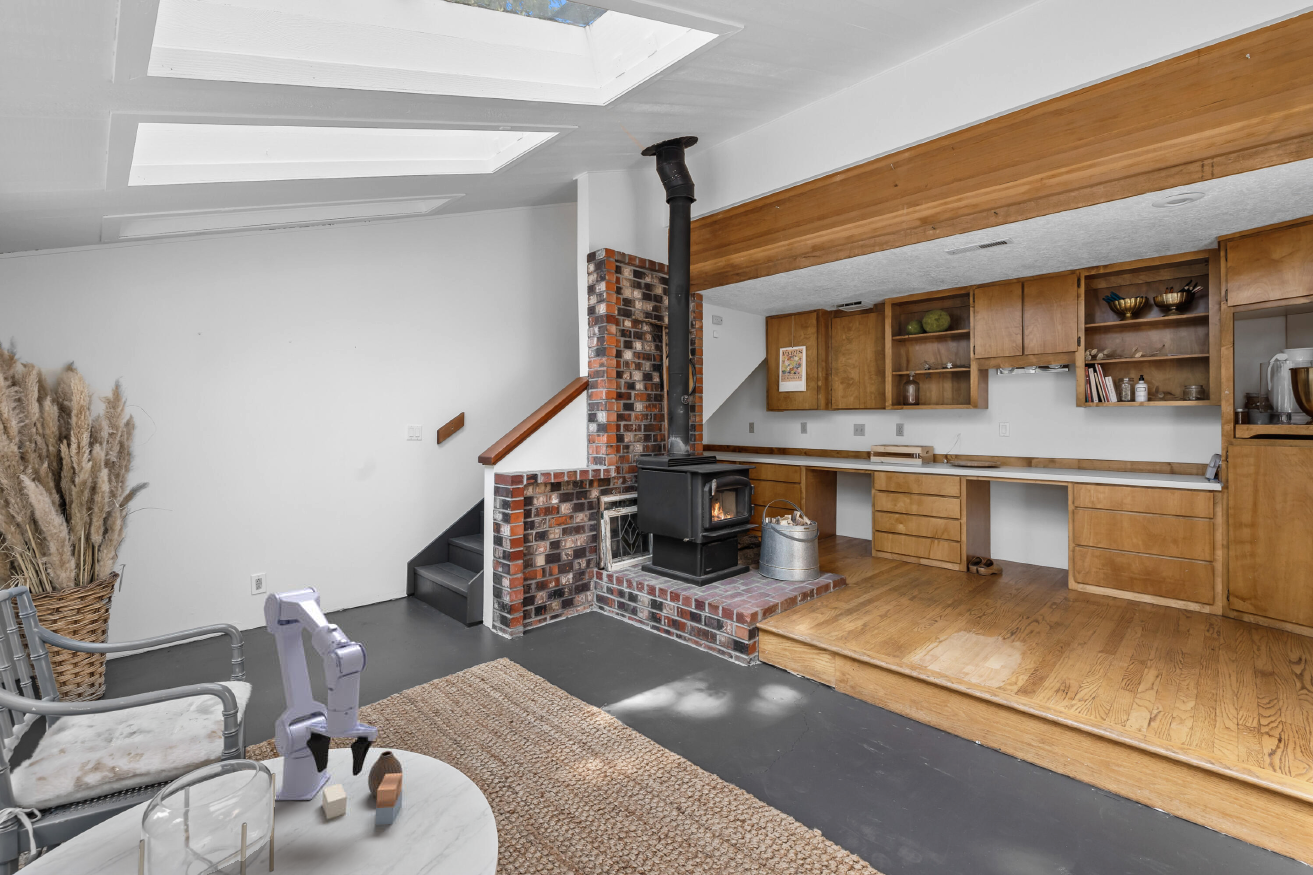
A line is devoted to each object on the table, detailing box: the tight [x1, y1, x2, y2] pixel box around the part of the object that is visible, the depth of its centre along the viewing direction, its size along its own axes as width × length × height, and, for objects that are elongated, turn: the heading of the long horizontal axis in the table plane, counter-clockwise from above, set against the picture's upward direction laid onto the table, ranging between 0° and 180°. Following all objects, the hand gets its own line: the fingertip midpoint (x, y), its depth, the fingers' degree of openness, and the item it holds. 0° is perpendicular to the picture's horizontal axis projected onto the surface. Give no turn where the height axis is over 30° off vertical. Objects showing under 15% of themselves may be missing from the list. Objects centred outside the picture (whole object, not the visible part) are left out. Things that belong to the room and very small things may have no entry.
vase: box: [367, 750, 403, 799], centre depth 130 cm, size 7×7×9 cm
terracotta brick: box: [375, 772, 403, 809], centre depth 123 cm, size 6×3×4 cm, turn 10°
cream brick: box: [321, 782, 348, 820], centre depth 124 cm, size 6×3×4 cm, turn 39°
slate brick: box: [374, 790, 403, 826], centre depth 123 cm, size 6×3×4 cm, turn 7°
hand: (339, 771), depth 121 cm, fingers open, 7 cm apart
